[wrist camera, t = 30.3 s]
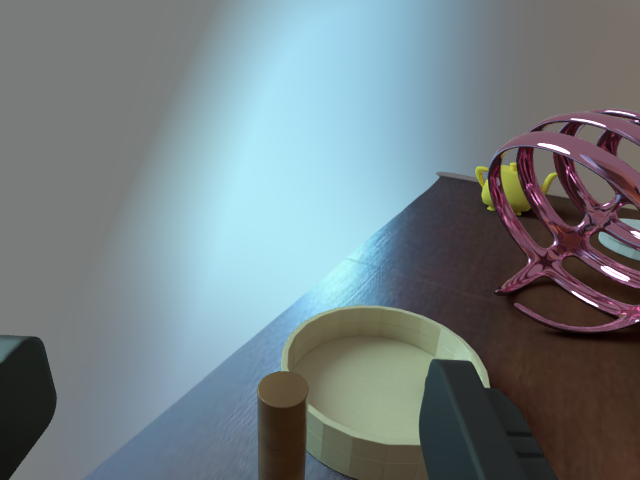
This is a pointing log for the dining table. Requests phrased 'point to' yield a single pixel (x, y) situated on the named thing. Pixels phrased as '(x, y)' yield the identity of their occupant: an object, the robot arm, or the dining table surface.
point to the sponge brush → (282, 426)
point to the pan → (370, 386)
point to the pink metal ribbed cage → (596, 215)
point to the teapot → (510, 188)
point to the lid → (619, 246)
